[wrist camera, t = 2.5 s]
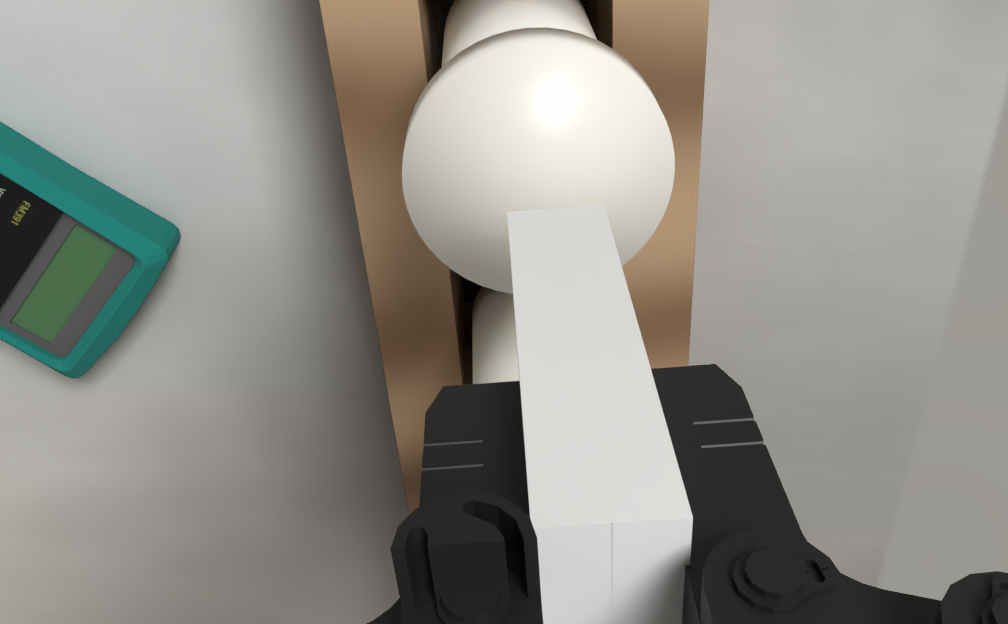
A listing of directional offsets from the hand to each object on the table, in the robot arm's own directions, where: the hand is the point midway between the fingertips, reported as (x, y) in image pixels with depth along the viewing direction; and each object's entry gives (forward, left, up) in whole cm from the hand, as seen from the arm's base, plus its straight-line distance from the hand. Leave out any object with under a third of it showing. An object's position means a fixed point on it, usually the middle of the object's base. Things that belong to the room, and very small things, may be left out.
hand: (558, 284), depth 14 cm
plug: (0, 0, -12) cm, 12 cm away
